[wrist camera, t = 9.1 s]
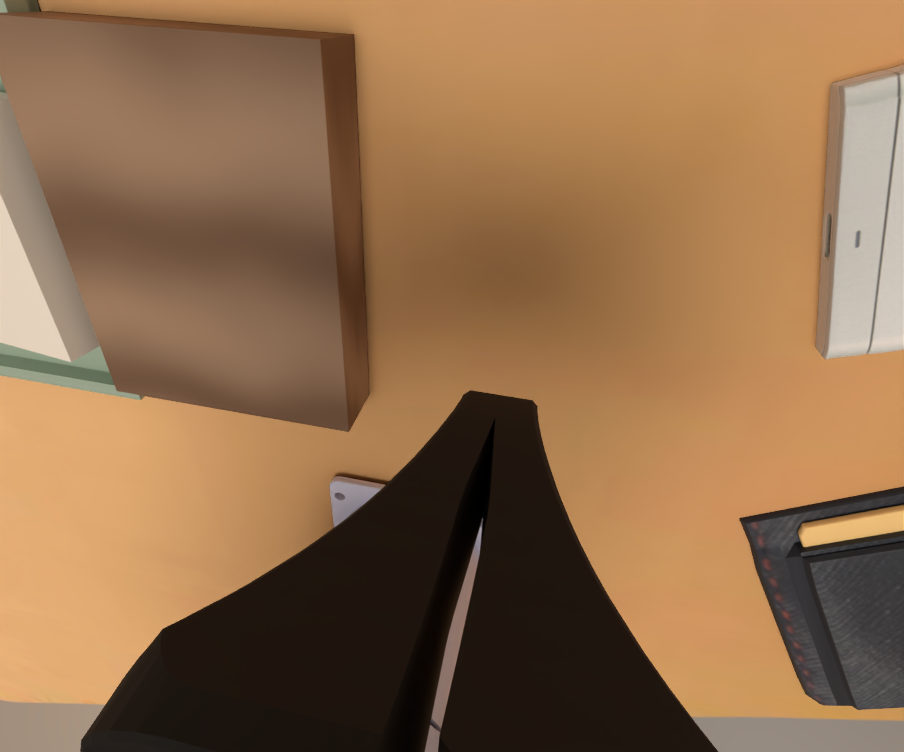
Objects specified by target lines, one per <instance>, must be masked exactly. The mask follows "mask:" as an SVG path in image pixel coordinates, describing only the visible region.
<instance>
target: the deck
mask: <svg viewBox="0 0 904 752" xmlns="http://www.w3.org/2000/svg"><path fill="white" fill-rule="evenodd" d="M0 76H1V79H2V82H3V85H4V87H5V90H6V93H7V95H8V98H9V101H10V104H11V106H12V109H13V112H14V114H15V117H16V120H17V123H18V125H19V128H20V131H21V133H22V136H23V139H24V141H25V144H26V147H27V150H28V152H29V155H30V158H31V160H32V163H33V166H34V169H35V171H36V174H37V177H38V179H39V182H40V185H41V188H42V190H43V193H44V196H45V198H46V201H47V204H48V206H49V209H50V212H51V215H52V217H53V220H54V223H55V225H56V228H57V231H58V234H59V236H60V239H61V242H62V244H63V247H64V250H65V253H66V255H67V258H68V261H69V263H70V266H71V269H72V272H73V274H74V277H75V280H76V282H77V285H78V288H79V290H80V293H81V296H82V299H83V301H84V304H85V307H86V309H87V312H88V315H89V318H90V320H91V323H92V326H93V328H94V331H95V334H96V337H97V339H98V342H99V345H100V347H101V350H102V353H103V355H104V358H105V361H106V364H107V366H108V369H109V372H110V374H111V377H112V380H113V383H114V385H115V388H116V391H119V392H125V393H131V394H136V395H142V396H148V397H153V398H159V399H165V400H171V401H176V402H182V403H188V404H193V405H199V406H205V407H210V408H216V409H222V410H227V411H233V412H239V413H245V414H250V415H256V416H262V417H267V418H273V419H279V420H284V421H290V422H296V423H301V424H307V425H313V426H318V427H324V428H330V429H336V430H341V431H347V432H349V431H350V429H351V427H352V425H353V423H354V421H355V420H356V418H357V416H358V414H359V412H360V410H361V409H362V407H363V405H364V403H365V401H366V400H367V398H368V396H369V375H368V352H367V328H366V305H365V282H364V259H363V235H362V212H361V189H360V166H359V142H358V119H357V96H356V73H355V49H354V34H341V33H328V32H314V31H301V30H288V29H275V28H261V27H248V26H235V25H222V24H208V23H195V22H182V21H168V20H155V19H142V18H129V17H115V16H102V15H89V14H76V13H62V12H49V11H47V12H5V13H0Z"/></svg>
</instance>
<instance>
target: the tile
mask: <svg viewBox="0 0 904 752" xmlns="http://www.w3.org/2000/svg"><path fill="white" fill-rule="evenodd" d="M0 343H4V344H8V345H11V346H15V347H18V348H22V349H26V350H29V351H33V352H36V353H40V354H43V355H47V356H51V357H54V358H58V359H61V360H65V361H69V362H73V361H75V360H76V359H78V358H80V357H81V356H83V355H85V354H87V353H88V352H90V351H92V350H93V349H95V348H97V347H99V346H100V345H99V342H98V339H97V337H96V334H95V331H94V328H93V326H92V323H91V320H90V318H89V315H88V312H87V309H86V307H85V304H84V301H83V299H82V296H81V293H80V290H79V288H78V285H77V282H76V280H75V277H74V274H73V272H72V269H71V266H70V263H69V261H68V258H67V255H66V253H65V250H64V247H63V244H62V242H61V239H60V236H59V234H58V231H57V228H56V225H55V223H54V220H53V217H52V215H51V212H50V209H49V206H48V204H47V201H46V198H45V196H44V193H43V190H42V188H41V185H40V182H39V179H38V177H37V174H36V171H35V169H34V166H33V163H32V160H31V158H30V155H29V152H28V150H27V147H26V144H25V141H24V139H23V136H22V133H21V131H20V128H19V125H18V123H17V120H16V117H15V114H14V112H13V109H12V106H11V104H10V101H9V98H8V95H7V93H4V92H0Z"/></svg>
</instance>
